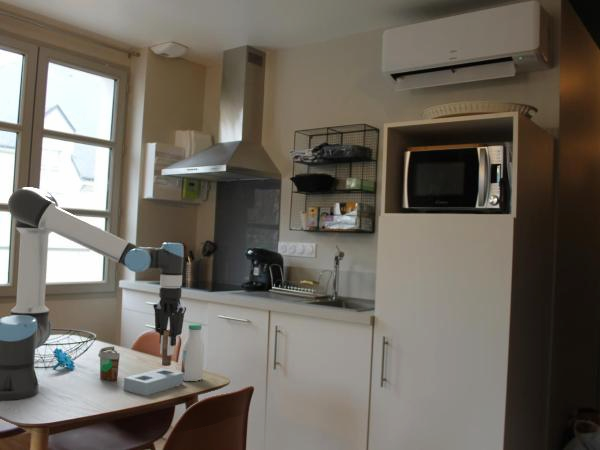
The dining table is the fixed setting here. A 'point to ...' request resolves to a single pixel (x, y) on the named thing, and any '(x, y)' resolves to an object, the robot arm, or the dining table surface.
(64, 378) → the dining table surface
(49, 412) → the dining table surface
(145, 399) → the dining table surface
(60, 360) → the gear
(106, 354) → the food container
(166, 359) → the peg
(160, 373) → the hole block
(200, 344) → the milk bottle
